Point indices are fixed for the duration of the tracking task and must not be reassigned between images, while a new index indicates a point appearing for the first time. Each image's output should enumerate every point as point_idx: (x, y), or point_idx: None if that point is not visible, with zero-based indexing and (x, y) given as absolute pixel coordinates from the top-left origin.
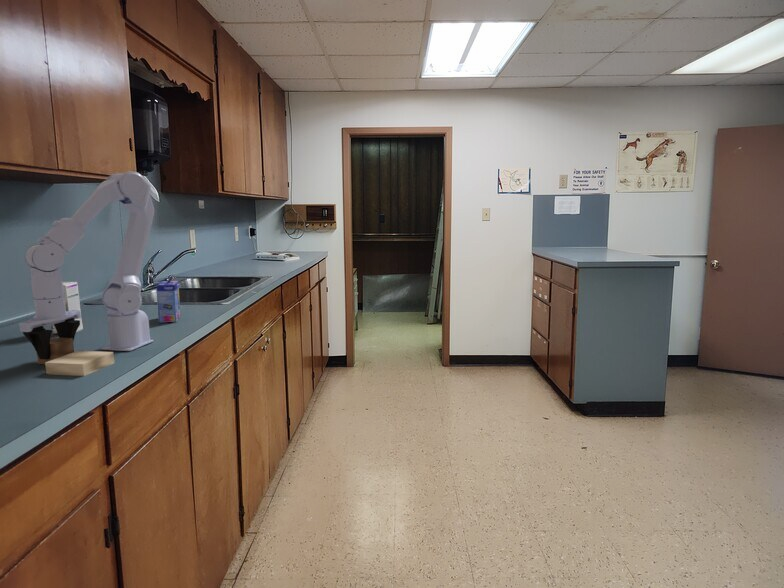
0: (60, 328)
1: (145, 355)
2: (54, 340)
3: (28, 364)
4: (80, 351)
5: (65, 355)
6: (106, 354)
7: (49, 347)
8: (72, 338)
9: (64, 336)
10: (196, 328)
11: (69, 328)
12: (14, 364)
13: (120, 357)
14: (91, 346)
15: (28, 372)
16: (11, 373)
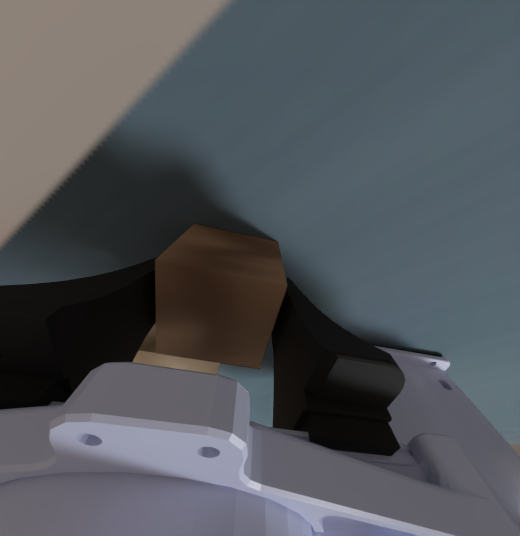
0: (297, 360)
1: (269, 426)
2: (216, 322)
3: (181, 189)
4: (209, 371)
5: (159, 355)
6: None
7: (152, 325)
8: (259, 367)
9: (285, 334)
10: (511, 441)
11: (278, 404)
12: (174, 116)
13: (257, 396)
14: (413, 286)
15: (98, 254)
16: (69, 200)
